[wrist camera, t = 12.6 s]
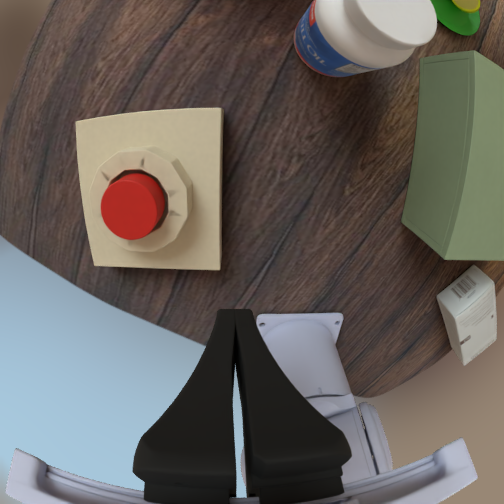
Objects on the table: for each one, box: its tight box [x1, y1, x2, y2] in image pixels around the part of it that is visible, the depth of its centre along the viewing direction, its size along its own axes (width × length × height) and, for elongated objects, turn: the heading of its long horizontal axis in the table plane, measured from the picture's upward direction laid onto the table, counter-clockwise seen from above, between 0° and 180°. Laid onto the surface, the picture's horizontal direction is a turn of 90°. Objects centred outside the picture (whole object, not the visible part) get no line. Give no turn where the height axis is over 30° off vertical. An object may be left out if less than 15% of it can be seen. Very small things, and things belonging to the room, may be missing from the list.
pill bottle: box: [294, 0, 437, 77], centre depth 11 cm, size 6×5×10 cm
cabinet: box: [401, 51, 504, 260], centre depth 15 cm, size 10×14×7 cm
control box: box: [76, 108, 224, 270], centre depth 18 cm, size 11×10×4 cm
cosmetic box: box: [436, 265, 497, 366], centre depth 25 cm, size 6×4×12 cm
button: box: [101, 173, 165, 240], centre depth 15 cm, size 4×4×2 cm
